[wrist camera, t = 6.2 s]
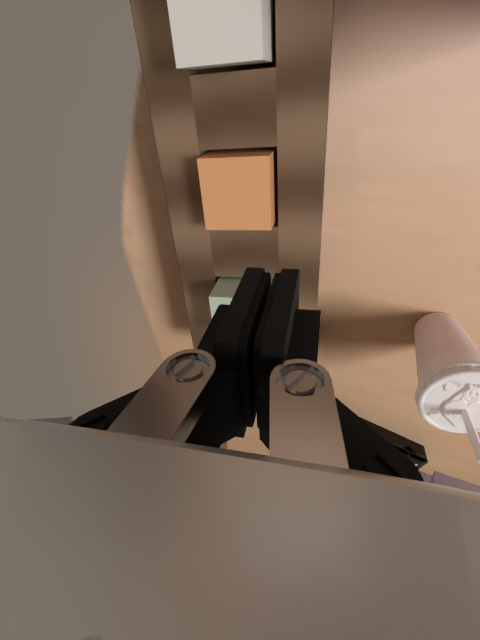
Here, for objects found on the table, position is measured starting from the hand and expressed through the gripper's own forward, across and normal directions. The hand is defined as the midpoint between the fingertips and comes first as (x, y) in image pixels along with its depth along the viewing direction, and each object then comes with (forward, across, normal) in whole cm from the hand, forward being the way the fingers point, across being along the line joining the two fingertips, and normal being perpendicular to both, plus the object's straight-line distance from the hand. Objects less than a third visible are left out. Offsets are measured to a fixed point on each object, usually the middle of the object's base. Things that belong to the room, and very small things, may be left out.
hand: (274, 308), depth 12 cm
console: (+20, +5, 0) cm, 21 cm away
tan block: (+19, +5, +1) cm, 20 cm away
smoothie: (+21, -12, +14) cm, 28 cm away
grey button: (+18, +5, -9) cm, 21 cm away
